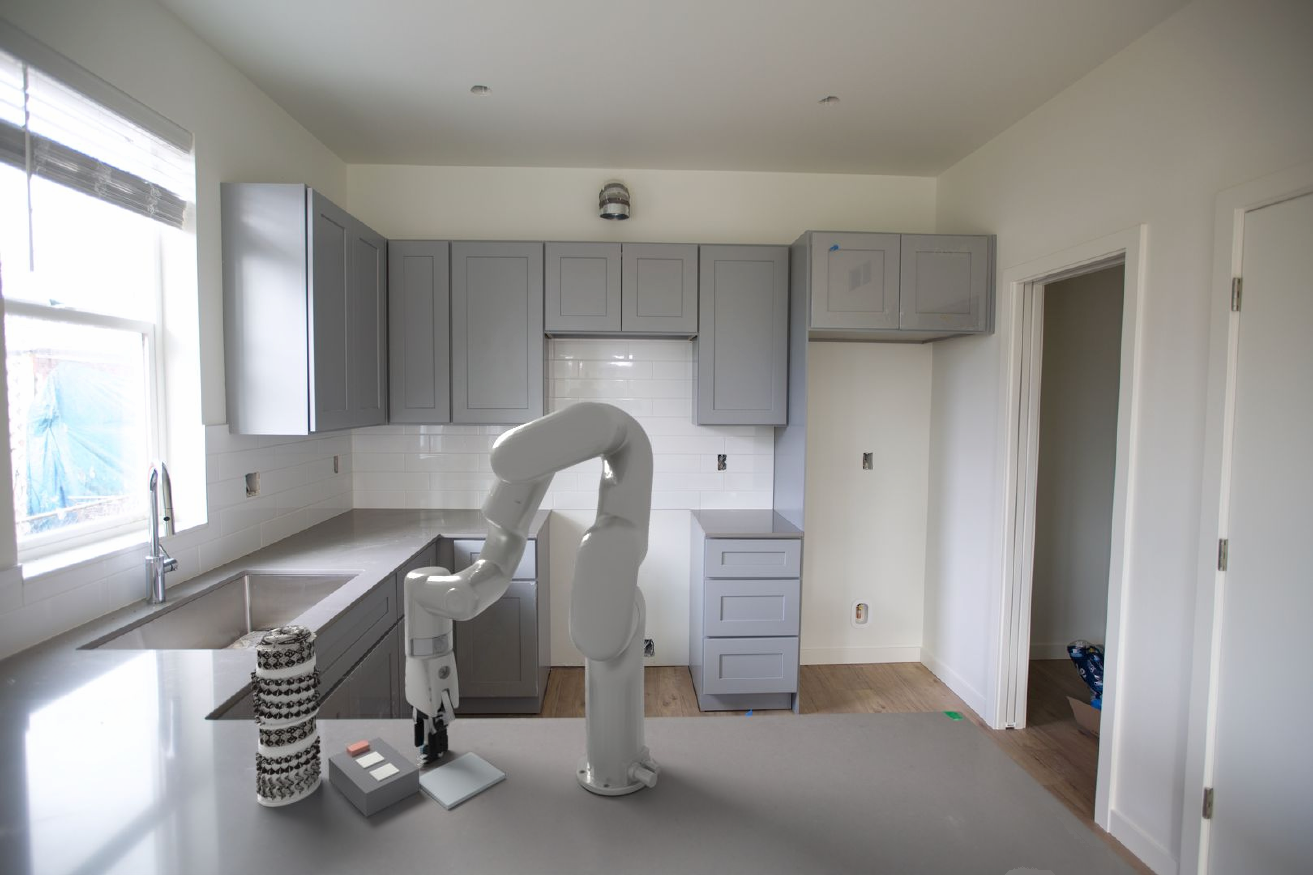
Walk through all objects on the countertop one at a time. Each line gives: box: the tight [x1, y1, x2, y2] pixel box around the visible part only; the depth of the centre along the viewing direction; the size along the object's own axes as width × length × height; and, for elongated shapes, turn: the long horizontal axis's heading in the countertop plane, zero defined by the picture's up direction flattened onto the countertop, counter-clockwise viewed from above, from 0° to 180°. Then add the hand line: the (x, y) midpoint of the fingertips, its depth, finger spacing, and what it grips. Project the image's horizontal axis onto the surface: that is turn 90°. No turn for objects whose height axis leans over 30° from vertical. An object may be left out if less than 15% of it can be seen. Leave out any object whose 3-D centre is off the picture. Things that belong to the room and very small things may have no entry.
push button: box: [416, 707, 449, 767], centre depth 99 cm, size 7×5×10 cm
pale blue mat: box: [419, 751, 506, 810], centre depth 93 cm, size 10×10×1 cm
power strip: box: [327, 736, 420, 818], centre depth 92 cm, size 14×8×4 cm, turn 49°
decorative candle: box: [250, 624, 322, 808], centre depth 91 cm, size 9×9×25 cm
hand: (430, 747), depth 99 cm, fingers closed on push button, 3 cm apart
